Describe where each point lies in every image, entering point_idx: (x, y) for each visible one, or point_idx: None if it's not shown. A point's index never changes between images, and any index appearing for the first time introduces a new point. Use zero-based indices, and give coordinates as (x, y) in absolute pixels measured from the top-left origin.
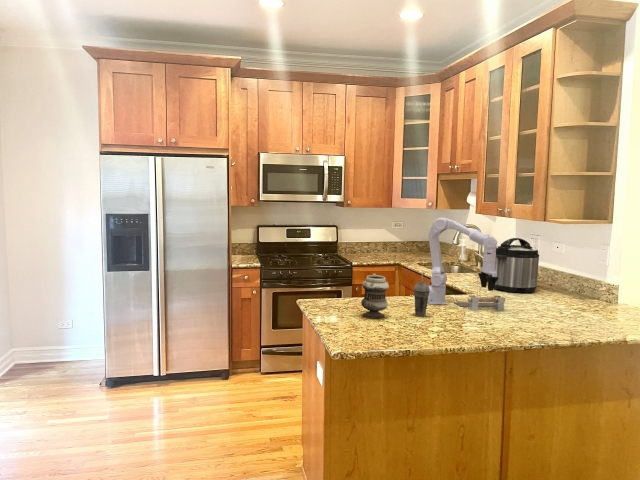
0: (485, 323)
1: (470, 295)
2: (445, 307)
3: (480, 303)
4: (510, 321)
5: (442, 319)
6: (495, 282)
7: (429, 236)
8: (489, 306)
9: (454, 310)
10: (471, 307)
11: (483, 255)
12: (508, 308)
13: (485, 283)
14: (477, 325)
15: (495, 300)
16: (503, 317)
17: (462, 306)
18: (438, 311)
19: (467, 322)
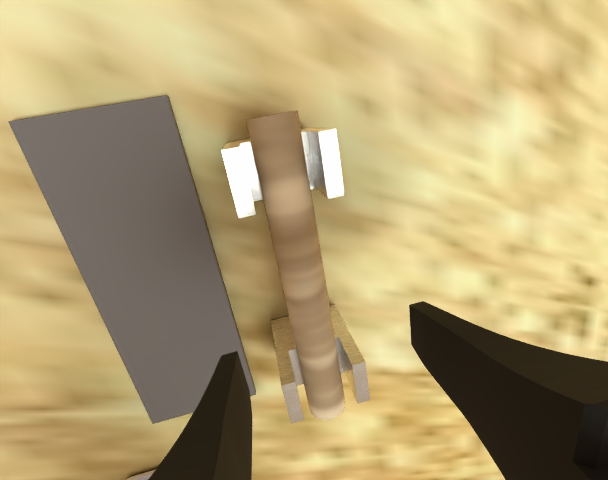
0: (575, 301)
1: (296, 413)
2: (294, 451)
3: (117, 265)
4: (557, 165)
5: None
6: (536, 352)
7: None
8: (202, 212)
9: (352, 413)
10: None
11: None
12: (188, 42)
13: (236, 401)
14: (597, 335)
15: (313, 210)
16: (476, 182)
17: (251, 379)
18: (384, 469)
19: None
